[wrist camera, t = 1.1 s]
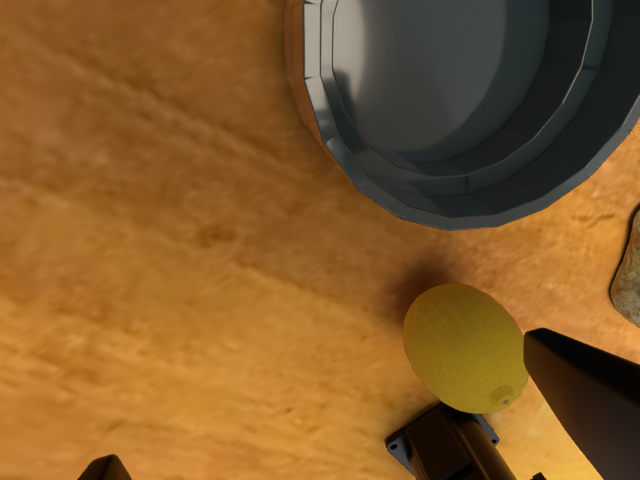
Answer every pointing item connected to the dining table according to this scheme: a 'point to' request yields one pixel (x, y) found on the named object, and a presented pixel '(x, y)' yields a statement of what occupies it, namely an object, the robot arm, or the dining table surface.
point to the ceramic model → (629, 278)
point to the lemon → (465, 348)
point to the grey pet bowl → (465, 99)
